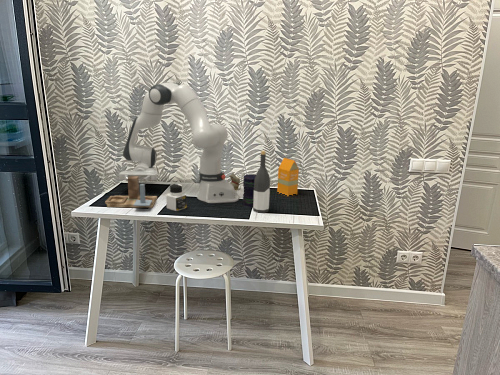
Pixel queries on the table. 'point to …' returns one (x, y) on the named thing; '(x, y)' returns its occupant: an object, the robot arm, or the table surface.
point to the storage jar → (248, 190)
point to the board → (128, 201)
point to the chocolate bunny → (234, 181)
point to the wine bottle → (261, 187)
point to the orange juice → (288, 177)
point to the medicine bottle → (176, 198)
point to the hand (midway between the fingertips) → (135, 179)
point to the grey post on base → (142, 198)
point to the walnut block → (133, 187)
